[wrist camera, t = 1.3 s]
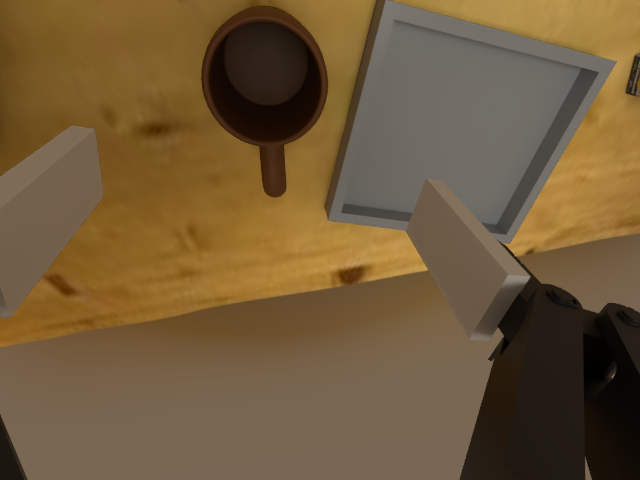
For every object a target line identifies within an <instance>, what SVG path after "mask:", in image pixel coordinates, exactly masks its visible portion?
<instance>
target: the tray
mask: <svg viewBox="0 0 640 480" xmlns="http://www.w3.org/2000/svg"><path fill="white" fill-rule="evenodd" d="M616 62H617V61H613V60H609V59H606V58H602V57H598V56H594V55H591V54H587V53H583V52H579V51H576V50H572V49H568V48H564V47H561V46H557V45H553V44H550V43H546V42H542V41H538V40H535V39H531V38H527V37H523V36H520V35H516V34H512V33H508V32H505V31H501V30H497V29H493V28H490V27H486V26H482V25H479V24H475V23H471V22H467V21H464V20H460V19H456V18H452V17H449V16H445V15H441V14H437V13H434V12H430V11H426V10H423V9H419V8H415V7H411V6H408V5H404V4H400V3H396V2H393V1H389V0H376V4H375V8H374V12H373V16H372V20H371V24H370V28H369V32H368V36H367V40H366V44H365V48H364V52H363V56H362V60H361V64H360V68H359V72H358V76H357V80H356V84H355V88H354V92H353V97H352V101H351V105H350V109H349V113H348V117H347V121H346V125H345V129H344V133H343V137H342V141H341V145H340V149H339V153H338V157H337V161H336V165H335V169H334V173H333V177H332V181H331V185H330V189H329V193H328V197H327V201H326V205H325V210H326V214H327V218H328V221H335V222H343V223H351V224H358V225H366V226H374V227H382V228H390V229H398V230H405V231H406V229H407V226H408V224H409V221H410V219H411V216H412V213H413V211H414V208H415V206H416V203H417V201H418V198H419V195H420V193H421V190H422V188H423V185H424V183H425V180H426V178H429V179H436V180H442V181H443V182H444V183H445V184H446V185H447V186H448V187H449V189H450V190H451V191H452V192H453V193H454V194H455V195H456V196H457V197H458V198H459V199H460V201H461V202H462V203H463V204H464V205H465V206H466V207H467V208H468V209H469V210H470V211H471V212H472V214H473V215H474V216H475V217H476V218H477V219H478V220H479V221H480V222H481V223H482V224H483V225H484V227H485V228H486V229H487V230H488V231H489V232H490V233H491V234H492V235H493V236H494V237H495V239H497V240H498V241H500V242H501V243H507V244H510V243H511V241H512V239H513V238H514V236H515V234H516V233H517V231H518V229H519V228H520V226H521V224H522V222H523V221H524V219H525V217H526V216H527V214H528V212H529V210H530V209H531V207H532V205H533V204H534V202H535V200H536V199H537V197H538V195H539V193H540V192H541V190H542V188H543V187H544V185H545V183H546V182H547V180H548V178H549V176H550V175H551V173H552V171H553V170H554V168H555V166H556V164H557V163H558V161H559V159H560V158H561V156H562V154H563V153H564V151H565V149H566V147H567V146H568V144H569V142H570V141H571V139H572V137H573V136H574V134H575V132H576V130H577V129H578V127H579V125H580V124H581V122H582V120H583V118H584V117H585V115H586V113H587V112H588V110H589V108H590V107H591V105H592V103H593V101H594V100H595V98H596V96H597V95H598V93H599V91H600V90H601V88H602V86H603V84H604V83H605V81H606V79H607V78H608V76H609V74H610V73H611V71H612V69H613V67H614V66H615V64H616Z"/></svg>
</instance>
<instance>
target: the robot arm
mask: <svg viewBox="0 0 640 480" xmlns="http://www.w3.org/2000/svg"><path fill="white" fill-rule="evenodd" d="M103 197H104V196H103V187H102V179H101V171H100V163H99V155H98V147H97V139H96V130H95V129H93V128H86V127H79V126H73V125H71V126H70V127H69V128H67V129H66V130H64V131H63V132H62V133H60V134H59V135H57V136H56V137H55V138H53V139H52V140H50V141H49V142H48V143H46V144H45V145H43V146H42V147H41V148H39V149H38V150H37V151H35V152H34V153H32V154H31V155H30V156H28V157H27V158H25V159H24V160H23V161H21V162H20V163H18V164H17V165H16V166H14V167H13V168H11V169H10V170H9V171H7V172H6V173H4V174H3V175H2V176H0V317H10V318H11V316H12V315H13V314H14V312H15V311H16V310H17V309H18V307H19V306H20V305H21V303H22V302H23V301H24V299H25V298H26V297H27V296H28V294H29V293H30V292H31V290H32V289H33V288H34V286H35V285H36V284H37V283H38V281H39V280H40V279H41V277H42V276H43V275H44V273H45V272H46V271H47V269H48V268H49V267H50V266H51V264H52V263H53V262H54V260H55V259H56V258H57V256H58V255H59V254H60V253H61V251H62V250H63V249H64V247H65V246H66V245H67V243H68V242H69V241H70V240H71V238H72V237H73V236H74V234H75V233H76V232H77V230H78V229H79V228H80V227H81V225H82V224H83V223H84V221H85V220H86V219H87V217H88V216H89V215H90V214H91V212H92V211H93V210H94V208H95V207H96V206H97V204H98V203H99V202H100V201H101V199H102V198H103ZM406 232H407V234H408V236H409V237H410V239H411V241H412V242H413V244H414V246H415V248H416V249H417V251H418V253H419V255H420V256H421V258H422V260H423V261H424V263H425V265H426V267H427V268H428V270H429V272H430V273H431V275H432V277H433V279H434V280H435V282H436V284H437V285H438V287H439V289H440V291H441V292H442V294H443V296H444V298H445V299H446V301H447V303H448V304H449V306H450V308H451V309H452V311H453V313H454V315H455V316H456V318H457V319H458V321H459V323H460V325H461V327H462V328H463V330H464V332H465V334H466V335H467V337H468V339H471V340H490V338H491V337H492V335H493V334H494V332H495V331H496V329H497V328H499V329H500V331H501V332H502V333H503V335H504V337H503V338H502V340H501V341H500V343H499V344H498V346H497V347H496V349H495V350H494V352H493V353H492V354H491V356H490V358H489V359H488V360H490V361H492V360H493V359H494V362H493V366H492V368H491V372H490V376H489V379H488V382H487V386H486V389H485V393H484V397H483V400H482V403H481V407H480V410H479V414H478V417H477V421H476V424H475V428H474V431H473V435H472V438H471V442H470V445H469V449H468V452H467V455H466V459H465V462H464V466H463V469H462V473H461V476H460V480H585V457H586V460H587V464H588V467H589V471H590V474H591V477H592V480H640V313H639V312H637V311H635V310H634V309H632V308H630V307H625V306H623V305H620V304H616V303H608V304H607V305H606V306H605V307H604V308H603V309H602V310H601V312H600V313H595V312H591V311H588V310H585V309H583V308H582V306H581V304H580V302H579V301H578V300H577V299H576V298H575V297H574V296H572V295H571V294H570V293H568V292H567V291H565V290H563V289H561V288H559V287H556V286H554V285H550V284H541V283H540V282H539V281H538V280H537V279H536V277H534V275H533V274H532V273H531V272H530V271H529V270H528V269H527V268H526V267H525V266H524V265H523V264H521V261H520V260H519V259H518V258H517V257H515V256H514V254H513V253H512V252H511V251H510V250H509V249H508V247H507V246H505V245H504V244H502V243H501V242H500V241H498V240H497V239H495V237H494V236H493V235H492V234H491V233H490V232H489V231H488V230H487V229H486V228H485V227H484V225H483V224H482V223H481V222H480V221H479V220H478V219H477V218H476V217H475V216H474V215H473V214H472V212H471V211H470V210H469V209H468V208H467V207H466V206H465V205H464V204H463V203H462V202H461V201H460V199H459V198H458V197H457V196H456V195H455V194H454V193H453V192H452V191H451V190H450V189H449V187H448V186H447V185H446V184H445V183H444V182H443V181H442V180H436V179H429V178H426V180H425V183H424V185H423V188H422V190H421V193H420V195H419V198H418V201H417V203H416V206H415V208H414V211H413V213H412V216H411V219H410V221H409V224H408V226H407V229H406ZM615 372H616V373H615ZM614 373H615V376H614V378H613V379H612V378H611V376H612V375H613V374H614ZM0 480H27V477H26V475H25V473H24V470H23V468H22V466H21V463H20V461H19V458H18V456H17V453H16V451H15V449H14V446H13V444H12V442H11V439H10V437H9V434H8V432H7V430H6V427H5V425H4V422H3V420H2V418H1V415H0Z"/></svg>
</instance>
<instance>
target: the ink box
mask: <svg viewBox="0 0 640 480" xmlns="http://www.w3.org/2000/svg"><path fill="white" fill-rule="evenodd" d="M627 94H630V95H634V96H638V97H640V55H637V56H636V59H635V62H634V66H633V70H632V73H631V77H630V81H629V85H628V89H627Z"/></svg>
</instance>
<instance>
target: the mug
mask: <svg viewBox="0 0 640 480" xmlns="http://www.w3.org/2000/svg"><path fill="white" fill-rule="evenodd" d="M201 80H202V89H203V93H204V97H205V100H206V102H207V105H208V107H209V109H210V111H211V113H212V114H213V116H214V117H215V119H216V120H217V121H218V123H219V124H220V125H221V126H222V127H223V128H224V129H225V130H226V131H227V132H229V133H230V134H231V135H233V136H234V137H236V138H238V139H239V140H241V141H244V142H246V143H249V144H252V145H256V146H259V148H260V160H261V172H262V182H263V188H264V191H265V193H266V194H267V195H269V196H271V197H279V196H281V195H283V194H284V192H285V191H286V172H285V157H284V144H287V143H290V142H293V141H294V140H296V139H298V138H300V137H301V136H303V135H304V134H305V133H307V132H308V131H309V130H310V129H311V128H312V126H313V125H314V124H315V123H316V121H317V120H318V118H319V117H320V115H321V113H322V110H323V108H324V105H325V102H326V97H327V90H328V78H327V71H326V66H325V62H324V59H323V56H322V53H321V51H320V48H319V46H318V44H317V43H316V41H315V39H314V38H313V36H312V35H311V34H310V33H309V31H308V30H307V29H306V28H305V27H304V26H303V25H302V24H301V23H300V22H299V21H298V20H296V19H295V18H294V17H293V16H291V15H290V14H288V13H287V12H285V11H283V10H280V9H278V8H274V7H270V6H255V7H251V8H247V9H245V10H243V11H241V12H239V13H237V14H236V15H234V16H232V17H231V18H230V19H228V20H227V21H226V22H225V23H224V24H222V25H221V27H220V28H219V29H218V30H217V31H216V32H215V34H214V36H213V37H212V39H211V40H210V43H209V45H208V47H207V50H206V53H205V56H204V60H203V65H202V78H201Z"/></svg>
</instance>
